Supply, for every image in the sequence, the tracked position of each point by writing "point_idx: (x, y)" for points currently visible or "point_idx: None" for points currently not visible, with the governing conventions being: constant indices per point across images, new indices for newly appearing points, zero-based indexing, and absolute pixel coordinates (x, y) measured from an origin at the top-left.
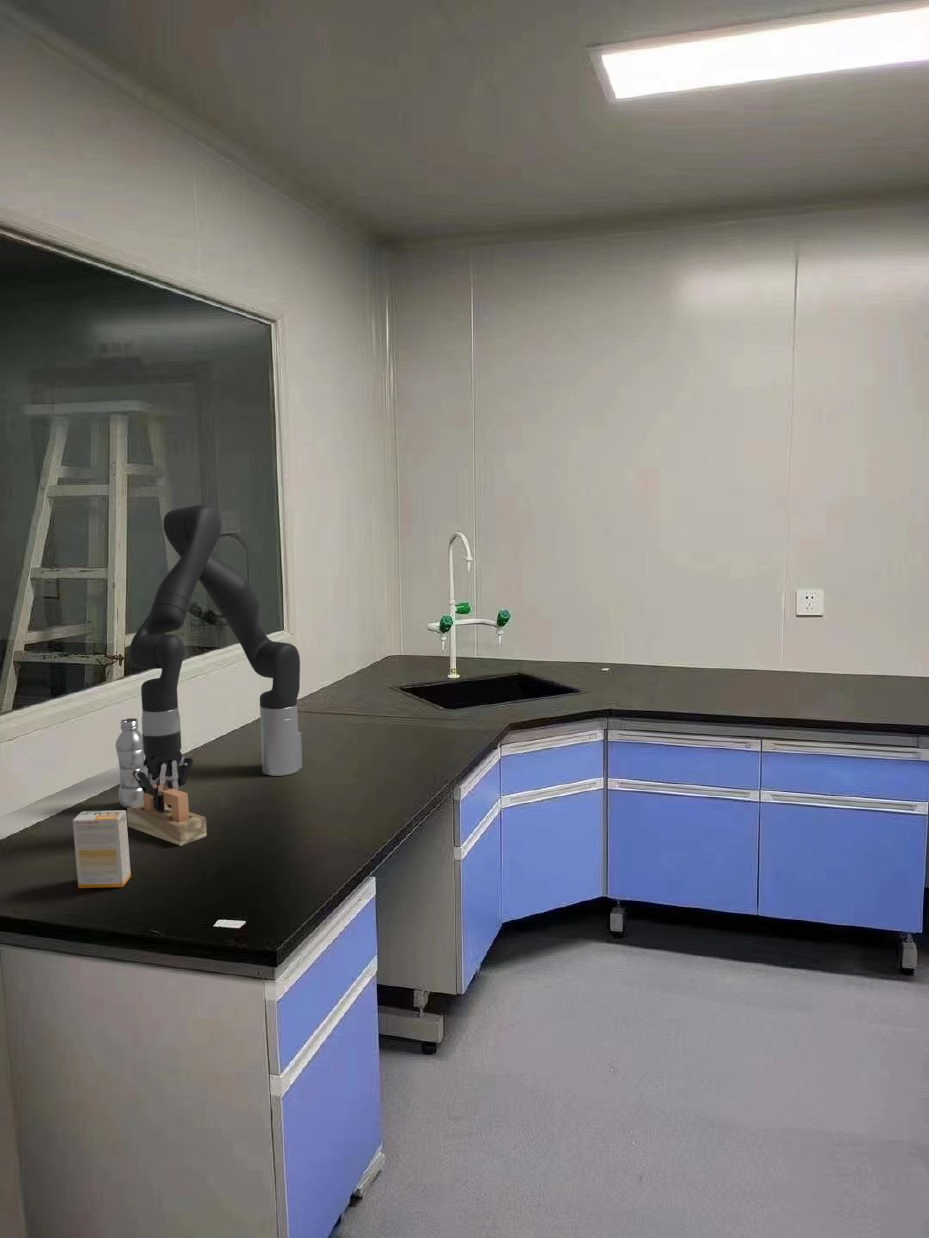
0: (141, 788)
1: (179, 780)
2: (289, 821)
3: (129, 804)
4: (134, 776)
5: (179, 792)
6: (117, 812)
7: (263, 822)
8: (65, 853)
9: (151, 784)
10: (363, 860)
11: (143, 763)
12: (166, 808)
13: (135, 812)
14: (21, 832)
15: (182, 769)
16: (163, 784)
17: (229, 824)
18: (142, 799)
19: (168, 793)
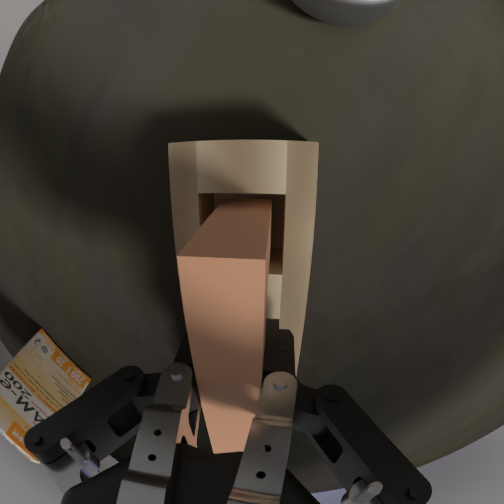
0: (101, 382)
1: (311, 433)
2: (416, 413)
3: (295, 4)
4: (39, 428)
5: (245, 444)
6: (28, 456)
7: (402, 396)
8: (26, 197)
9: (153, 402)
10: (322, 491)
11: (61, 502)
12: (277, 287)
13: (172, 207)
14: (39, 6)
15: (345, 475)
16: (196, 442)
17: (371, 366)
18: (347, 22)
19: (208, 428)
